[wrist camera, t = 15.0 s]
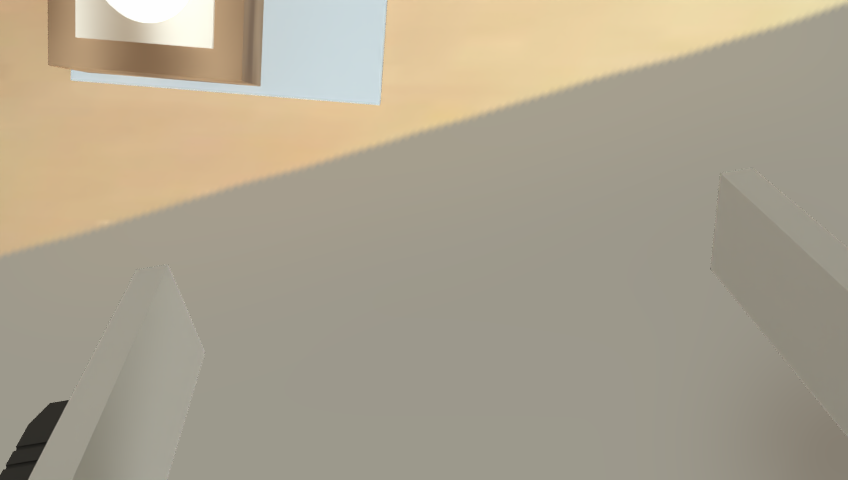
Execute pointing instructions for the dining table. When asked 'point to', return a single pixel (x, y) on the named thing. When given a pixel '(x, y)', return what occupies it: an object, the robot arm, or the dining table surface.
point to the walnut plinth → (160, 41)
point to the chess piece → (148, 9)
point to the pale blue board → (303, 54)
